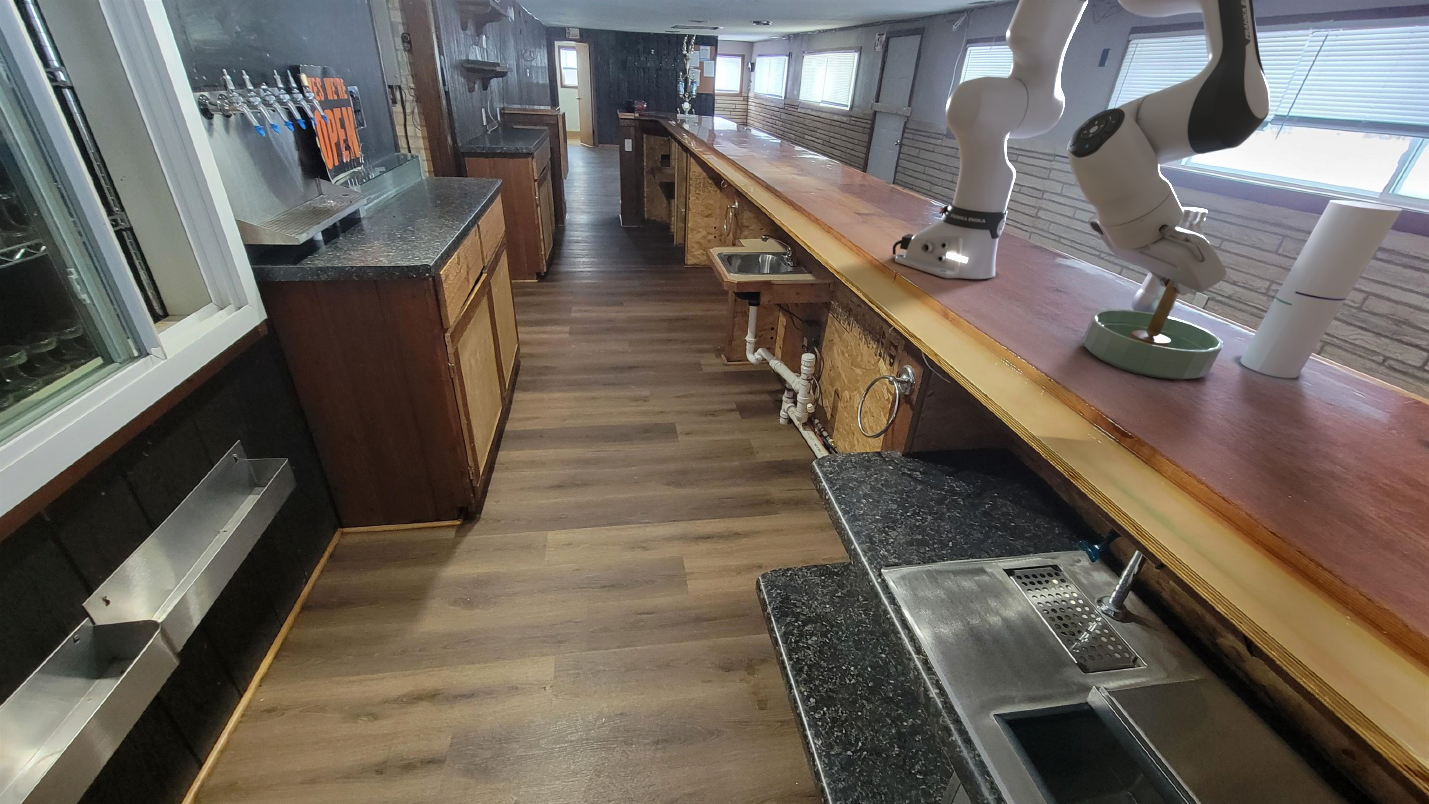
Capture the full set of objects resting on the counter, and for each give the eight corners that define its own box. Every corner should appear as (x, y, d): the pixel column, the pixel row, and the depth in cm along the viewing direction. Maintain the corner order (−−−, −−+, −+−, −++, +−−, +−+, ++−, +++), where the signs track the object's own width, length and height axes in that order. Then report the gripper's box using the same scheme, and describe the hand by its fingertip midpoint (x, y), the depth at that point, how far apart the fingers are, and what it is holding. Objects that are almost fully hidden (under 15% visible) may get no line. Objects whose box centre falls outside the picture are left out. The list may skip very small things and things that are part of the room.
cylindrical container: (1285, 381, 86) (1390, 211, 73) (1231, 362, 91) (1320, 201, 79) (1306, 373, 89) (1411, 208, 76) (1252, 355, 94) (1342, 199, 82)
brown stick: (1122, 349, 91) (1172, 234, 82) (1130, 340, 94) (1179, 230, 85) (1160, 359, 88) (1217, 242, 78) (1167, 350, 91) (1222, 237, 82)
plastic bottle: (1154, 311, 111) (1201, 206, 102) (1174, 324, 106) (1227, 214, 96) (1120, 309, 112) (1164, 204, 102) (1139, 321, 106) (1188, 211, 96)
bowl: (1067, 354, 91) (1078, 325, 89) (1097, 328, 102) (1108, 302, 99) (1197, 393, 81) (1213, 362, 78) (1215, 360, 92) (1230, 331, 89)
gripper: (1220, 219, 70) (1256, 297, 75) (1119, 191, 88) (1153, 256, 93) (1169, 253, 73) (1207, 327, 78) (1080, 219, 90) (1116, 281, 95)
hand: (1177, 288), depth 86 cm, fingers closed on brown stick
